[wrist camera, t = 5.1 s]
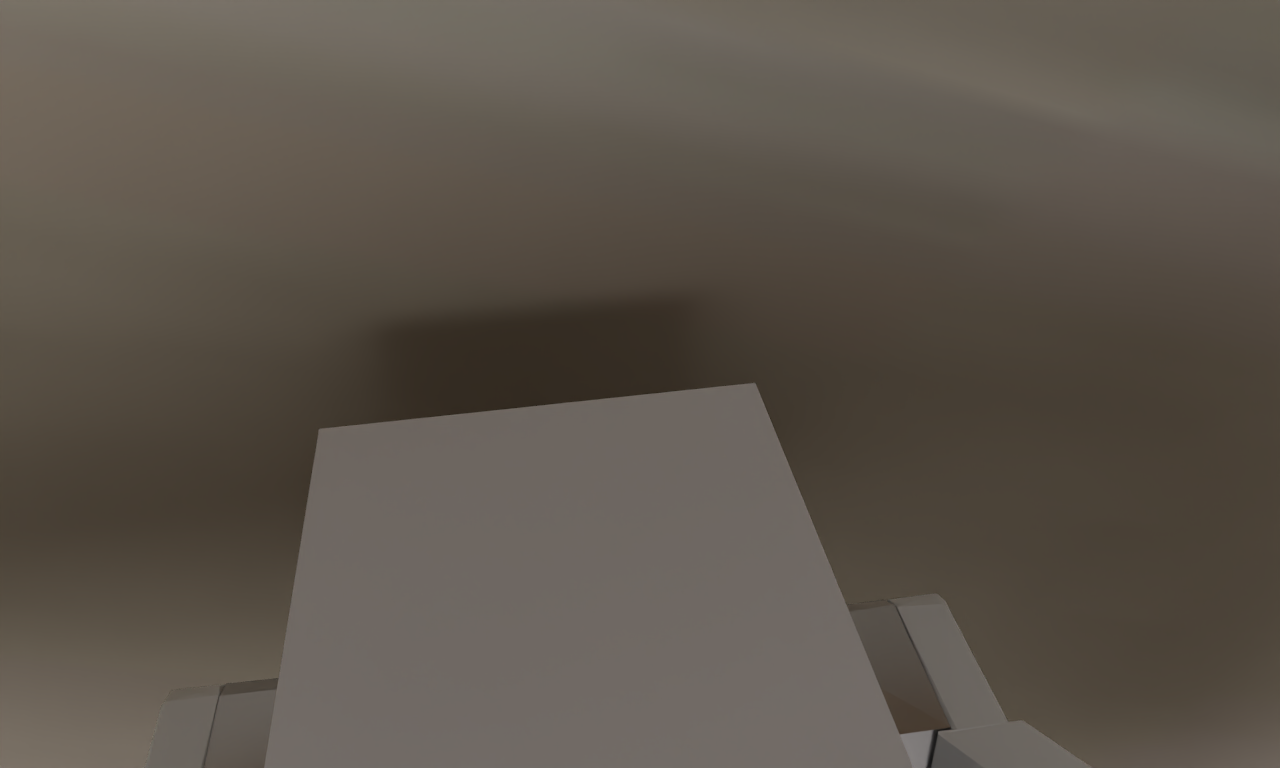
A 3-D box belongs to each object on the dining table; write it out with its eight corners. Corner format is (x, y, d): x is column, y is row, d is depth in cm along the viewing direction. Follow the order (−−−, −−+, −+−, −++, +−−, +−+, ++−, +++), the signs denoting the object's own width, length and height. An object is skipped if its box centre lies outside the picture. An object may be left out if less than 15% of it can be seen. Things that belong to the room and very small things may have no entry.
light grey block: (755, 383, 11) (943, 839, 7) (743, 670, 14) (875, 1133, 9) (319, 428, 11) (234, 948, 6) (389, 717, 13) (362, 1226, 9)
